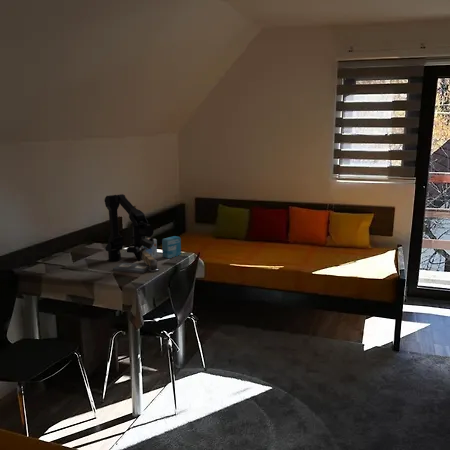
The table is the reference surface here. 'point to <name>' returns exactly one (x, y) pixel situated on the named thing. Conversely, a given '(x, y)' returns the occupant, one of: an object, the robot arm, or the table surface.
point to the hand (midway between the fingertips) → (139, 261)
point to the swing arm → (149, 260)
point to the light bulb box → (151, 249)
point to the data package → (171, 247)
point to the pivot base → (153, 270)
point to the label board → (132, 267)
